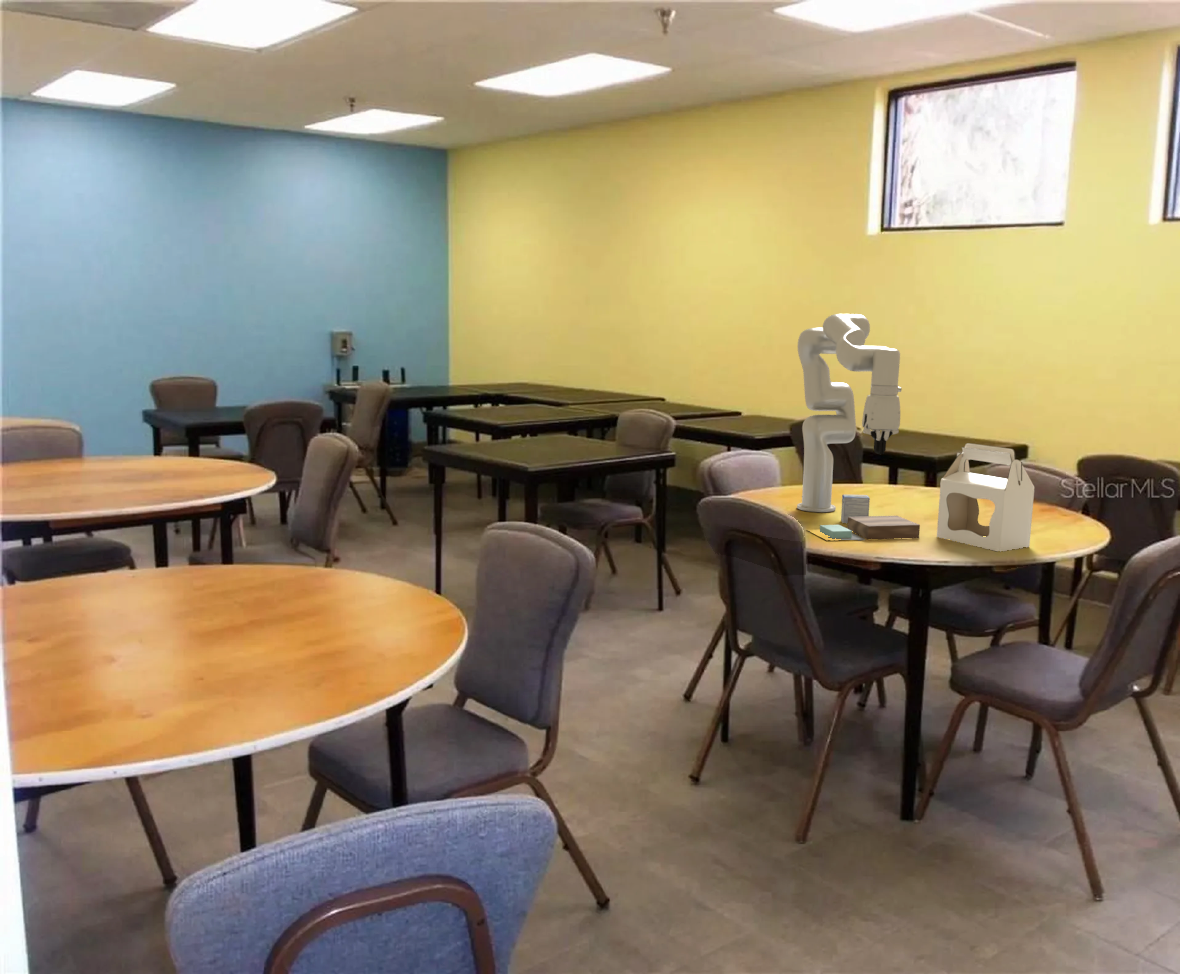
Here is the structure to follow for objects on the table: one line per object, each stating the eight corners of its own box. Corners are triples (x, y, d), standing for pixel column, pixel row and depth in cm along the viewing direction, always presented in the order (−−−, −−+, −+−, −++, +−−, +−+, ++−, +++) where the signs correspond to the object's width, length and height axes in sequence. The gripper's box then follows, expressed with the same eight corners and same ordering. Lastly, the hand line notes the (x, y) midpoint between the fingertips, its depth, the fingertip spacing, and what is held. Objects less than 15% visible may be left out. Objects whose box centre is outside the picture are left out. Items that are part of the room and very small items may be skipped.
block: (838, 524, 306) (838, 531, 306) (819, 525, 305) (819, 531, 305) (852, 530, 297) (851, 537, 298) (832, 531, 296) (832, 538, 296)
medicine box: (866, 521, 323) (867, 494, 321) (868, 524, 318) (870, 497, 317) (840, 521, 324) (842, 494, 322) (842, 523, 319) (844, 496, 318)
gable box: (935, 537, 301) (942, 442, 297) (965, 532, 308) (972, 440, 304) (1000, 552, 283) (1008, 452, 278) (1030, 547, 290) (1039, 449, 285)
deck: (847, 529, 310) (847, 516, 309) (896, 528, 313) (897, 515, 312) (867, 539, 296) (868, 526, 296) (918, 538, 299) (919, 524, 299)
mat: (806, 530, 308) (806, 529, 308) (843, 529, 310) (843, 528, 310) (826, 541, 294) (826, 540, 293) (865, 540, 296) (865, 539, 296)
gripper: (901, 389, 302) (896, 451, 306) (854, 389, 300) (850, 451, 303) (914, 392, 295) (909, 455, 299) (865, 392, 292) (861, 455, 296)
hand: (879, 453), depth 301 cm, fingers closed
